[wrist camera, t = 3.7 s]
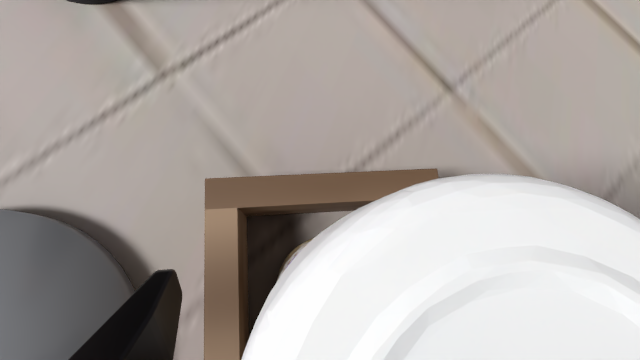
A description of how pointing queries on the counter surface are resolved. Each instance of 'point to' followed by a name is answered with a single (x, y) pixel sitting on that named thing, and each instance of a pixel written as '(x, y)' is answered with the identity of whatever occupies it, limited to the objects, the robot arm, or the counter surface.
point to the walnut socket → (270, 199)
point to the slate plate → (53, 287)
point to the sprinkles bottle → (462, 278)
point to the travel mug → (91, 1)
